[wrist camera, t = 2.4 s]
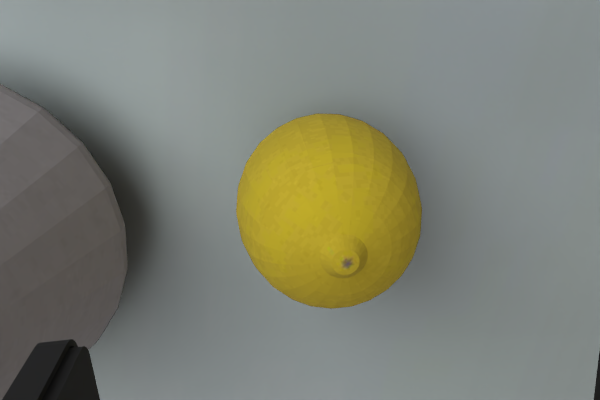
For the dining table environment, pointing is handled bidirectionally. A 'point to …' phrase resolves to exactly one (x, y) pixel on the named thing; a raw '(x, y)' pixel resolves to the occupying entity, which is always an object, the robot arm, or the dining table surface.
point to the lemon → (329, 210)
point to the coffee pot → (53, 237)
